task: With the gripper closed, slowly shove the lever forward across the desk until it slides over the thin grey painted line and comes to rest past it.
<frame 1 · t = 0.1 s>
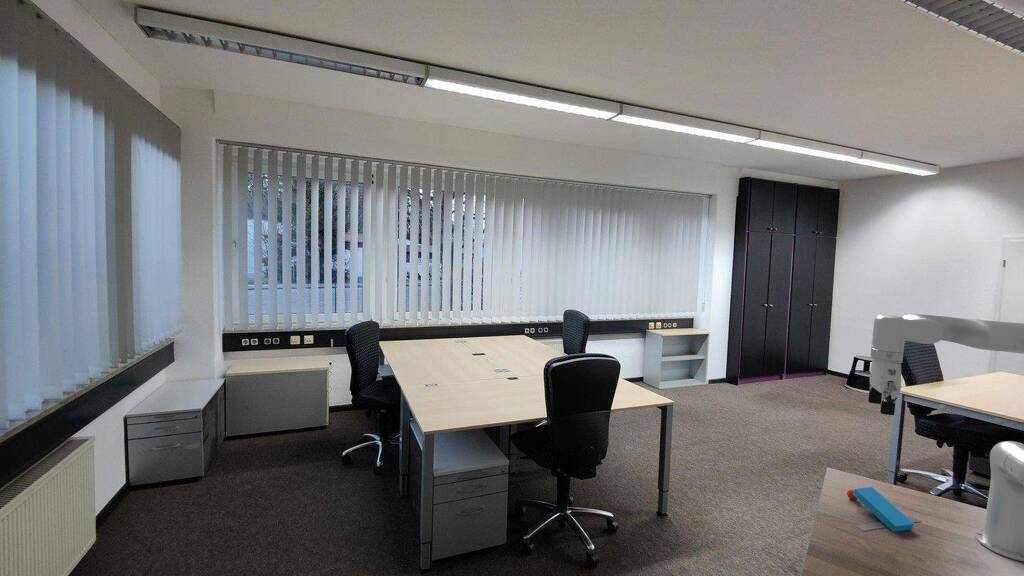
hand: (880, 408, 135), 37 cm above the table, tool pointing down, fingers open, 9 cm apart
lever: (874, 513, 142), on the table, touching foul line
foul line: (888, 523, 137), on the table
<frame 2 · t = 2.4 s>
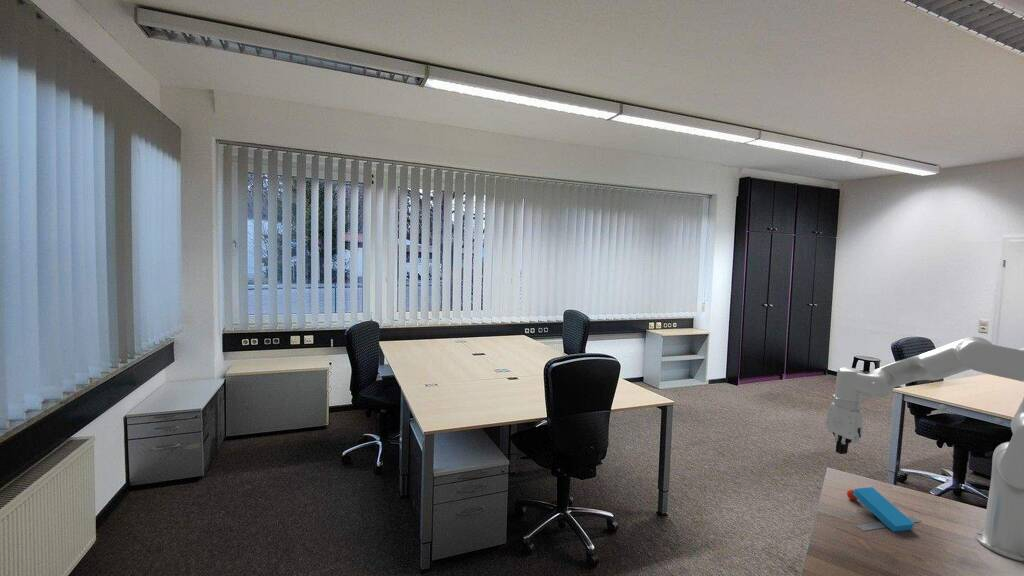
hand: (841, 452, 153), 15 cm above the table, tool pointing down, fingers closed
nothing on the table moved.
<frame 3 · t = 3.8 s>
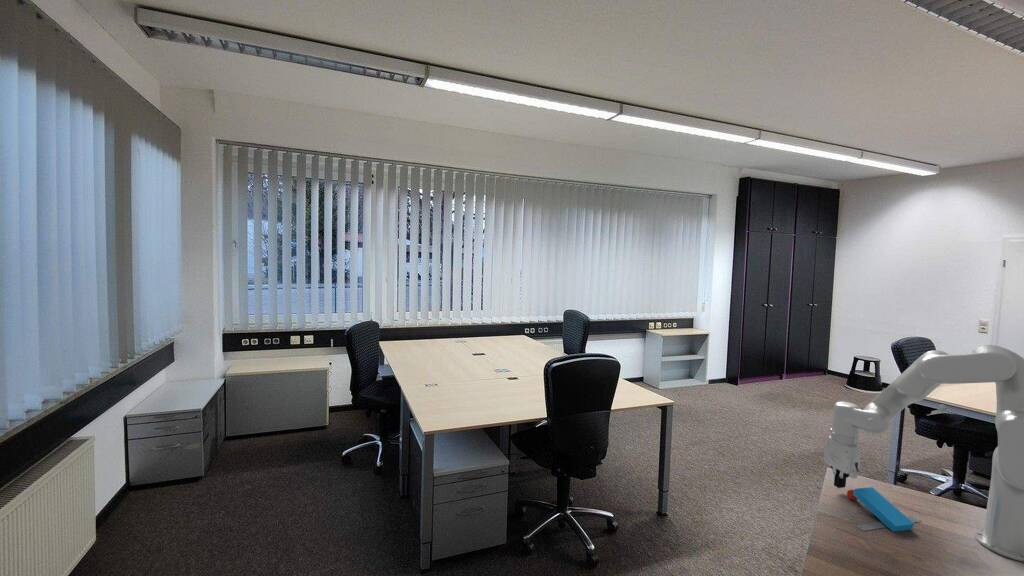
hand: (839, 486, 154), 2 cm above the table, tool pointing down, fingers closed
nothing on the table moved.
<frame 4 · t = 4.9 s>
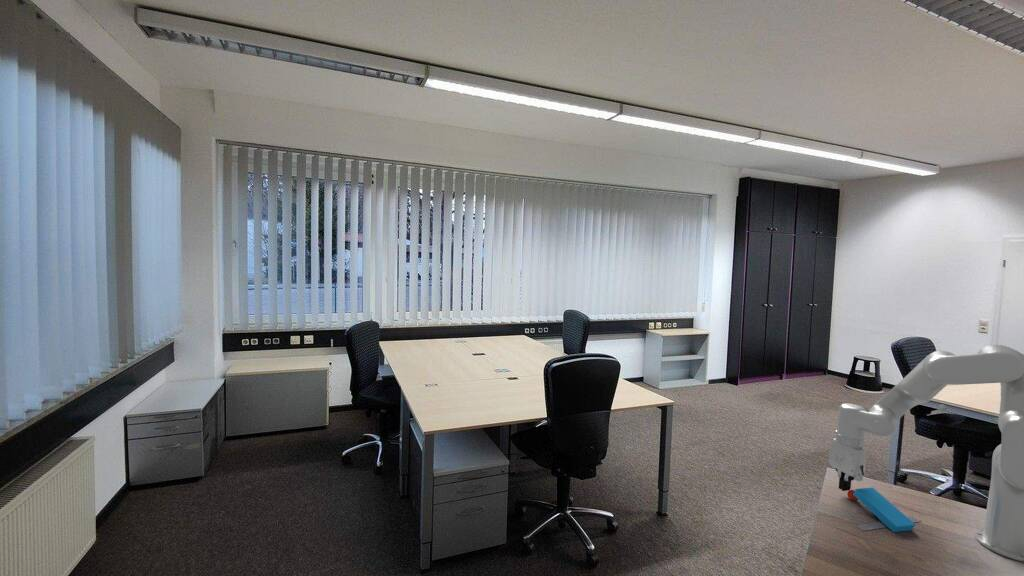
hand: (844, 489, 152), 2 cm above the table, tool pointing down, fingers closed
lever: (875, 514, 142), on the table, touching foul line, gripper
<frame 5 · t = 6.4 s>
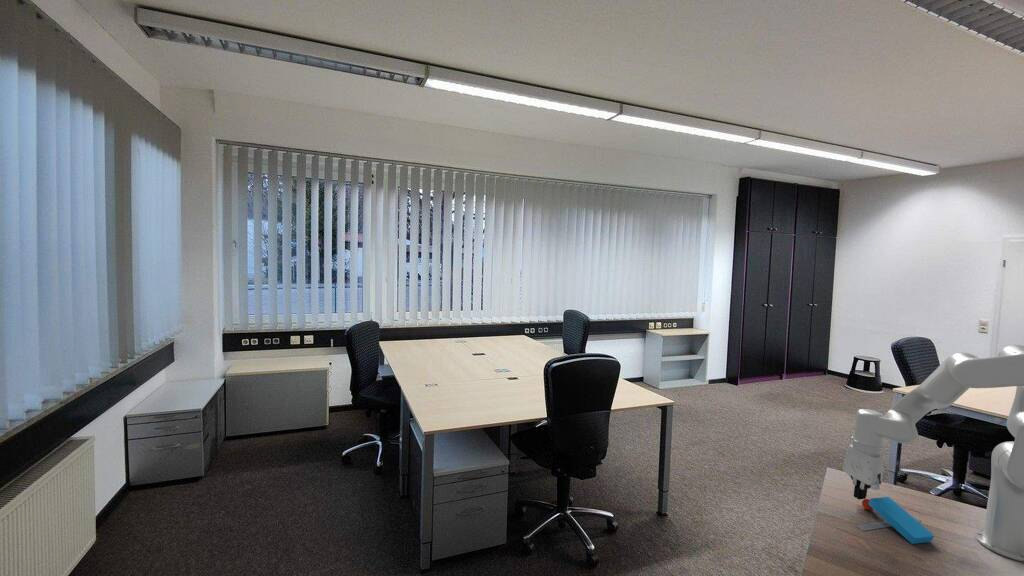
hand: (859, 497, 146), 3 cm above the table, tool pointing down, fingers closed
lever: (891, 524, 137), on the table, touching gripper
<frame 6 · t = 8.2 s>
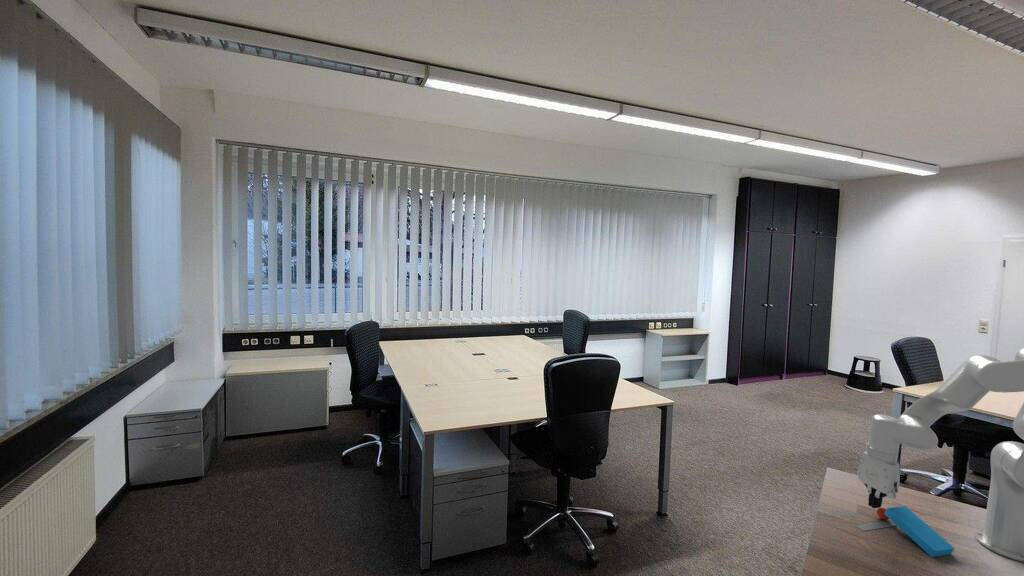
hand: (874, 506, 141), 3 cm above the table, tool pointing down, fingers closed
lever: (908, 535, 132), on the table, touching foul line, gripper
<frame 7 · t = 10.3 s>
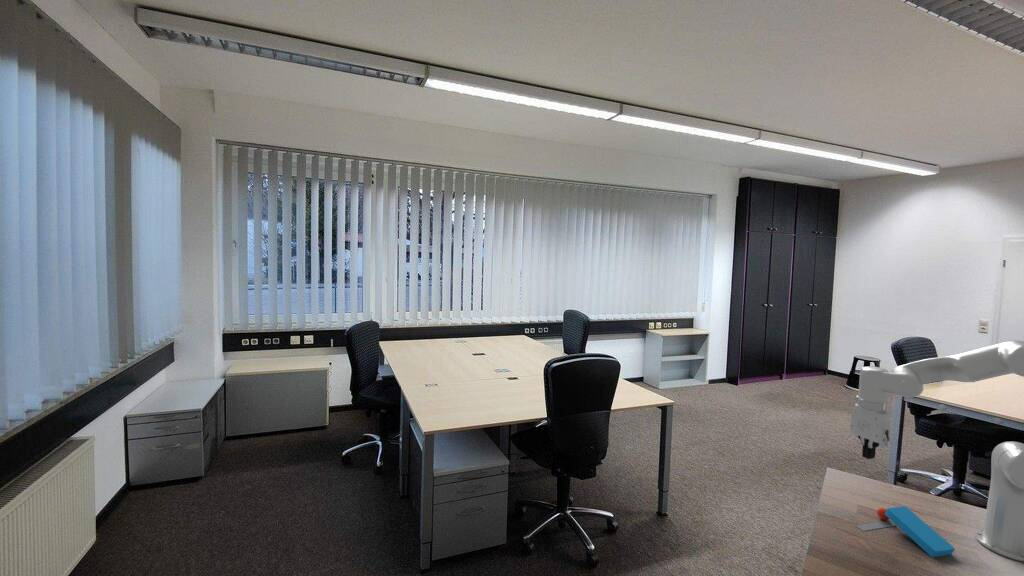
hand: (868, 457, 144), 17 cm above the table, tool pointing down, fingers closed
lever: (908, 535, 132), on the table, touching foul line
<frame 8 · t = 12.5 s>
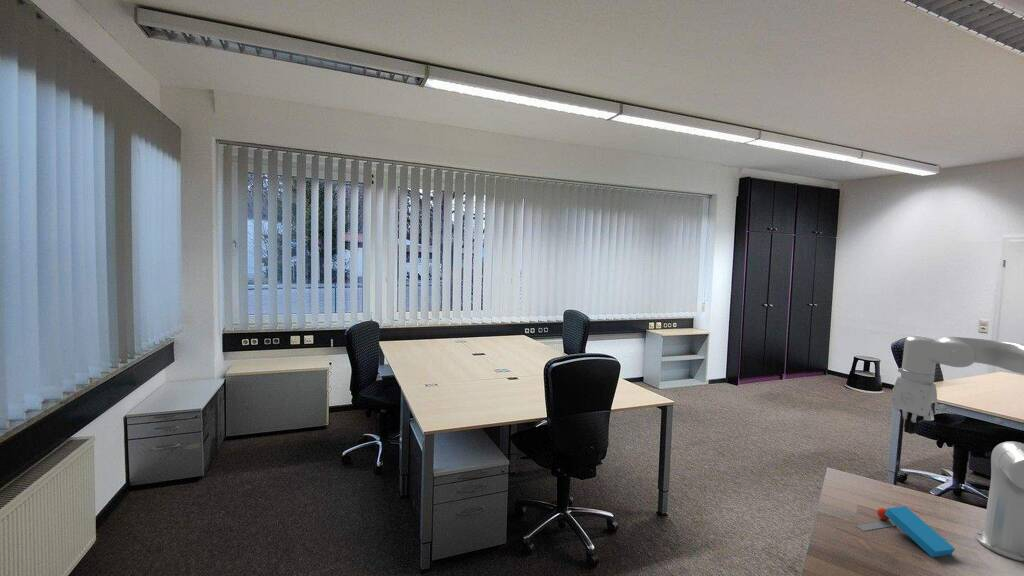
hand: (910, 432, 137), 29 cm above the table, tool pointing down, fingers closed
nothing on the table moved.
at the end: lever inside the target area (2.7 cm from its centre), on the table; lever moved 10.7 cm from its start; lever tilted 1° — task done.
